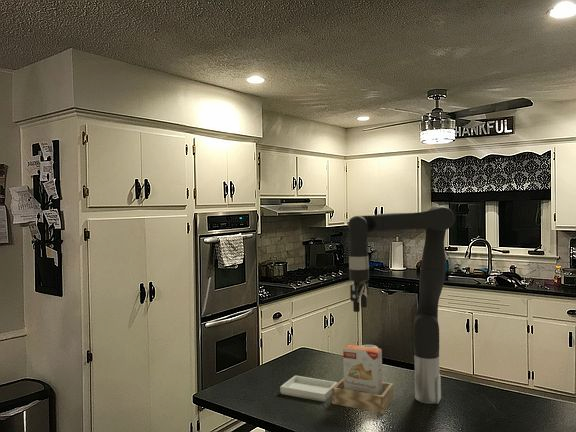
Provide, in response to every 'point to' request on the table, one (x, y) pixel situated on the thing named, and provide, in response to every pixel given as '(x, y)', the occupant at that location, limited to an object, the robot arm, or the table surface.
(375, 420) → the table surface
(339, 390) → the oak holder
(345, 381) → the cracker box
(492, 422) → the table surface
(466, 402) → the table surface
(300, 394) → the white tray
